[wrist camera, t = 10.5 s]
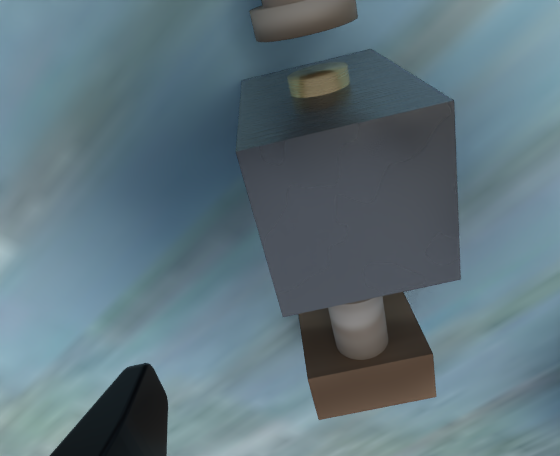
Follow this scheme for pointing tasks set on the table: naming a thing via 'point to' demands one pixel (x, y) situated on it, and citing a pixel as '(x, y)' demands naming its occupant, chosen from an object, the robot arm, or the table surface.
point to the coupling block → (350, 180)
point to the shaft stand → (362, 314)
